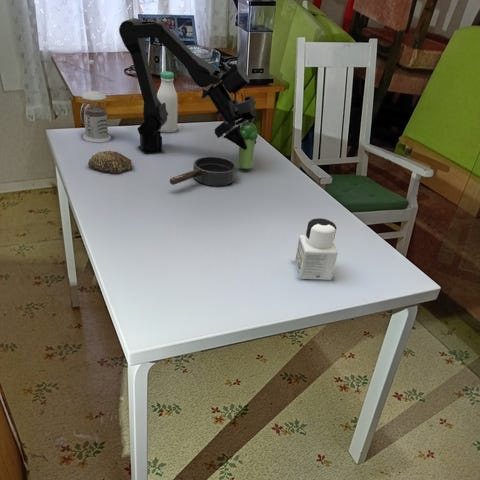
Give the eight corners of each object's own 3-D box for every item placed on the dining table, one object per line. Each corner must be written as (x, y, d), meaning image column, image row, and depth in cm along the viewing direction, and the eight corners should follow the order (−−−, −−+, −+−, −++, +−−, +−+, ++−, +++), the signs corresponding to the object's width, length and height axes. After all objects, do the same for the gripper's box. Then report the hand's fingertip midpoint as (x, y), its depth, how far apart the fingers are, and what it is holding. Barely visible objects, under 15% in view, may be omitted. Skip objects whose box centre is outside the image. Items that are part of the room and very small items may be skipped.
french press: (117, 136, 186) (113, 60, 171) (96, 145, 177) (90, 66, 162) (94, 130, 189) (88, 54, 173) (73, 139, 180) (65, 60, 165)
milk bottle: (180, 128, 199) (181, 72, 187) (171, 134, 193) (172, 76, 181) (162, 124, 200) (162, 68, 188) (153, 130, 195) (152, 72, 182)
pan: (205, 189, 158) (205, 175, 155) (186, 172, 166) (186, 158, 163) (242, 183, 163) (243, 170, 161) (222, 168, 172) (223, 154, 169)
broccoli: (244, 171, 168) (249, 127, 159) (229, 164, 171) (233, 121, 163) (259, 167, 172) (265, 124, 164) (244, 160, 176) (249, 117, 167)
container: (294, 262, 129) (303, 214, 121) (324, 263, 130) (335, 215, 122) (299, 279, 123) (309, 230, 115) (331, 280, 124) (343, 231, 116)
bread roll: (82, 167, 162) (81, 151, 159) (108, 156, 171) (107, 140, 168) (116, 177, 158) (115, 161, 155) (140, 165, 167) (140, 150, 164)
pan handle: (199, 173, 160) (199, 167, 158) (203, 175, 159) (204, 169, 158) (168, 184, 151) (168, 177, 150) (172, 186, 150) (173, 179, 149)
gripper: (226, 93, 152) (255, 140, 155) (255, 82, 165) (281, 126, 169) (201, 114, 159) (230, 159, 162) (231, 102, 173) (256, 144, 176)
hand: (250, 146), depth 167 cm, fingers closed on broccoli, 6 cm apart
